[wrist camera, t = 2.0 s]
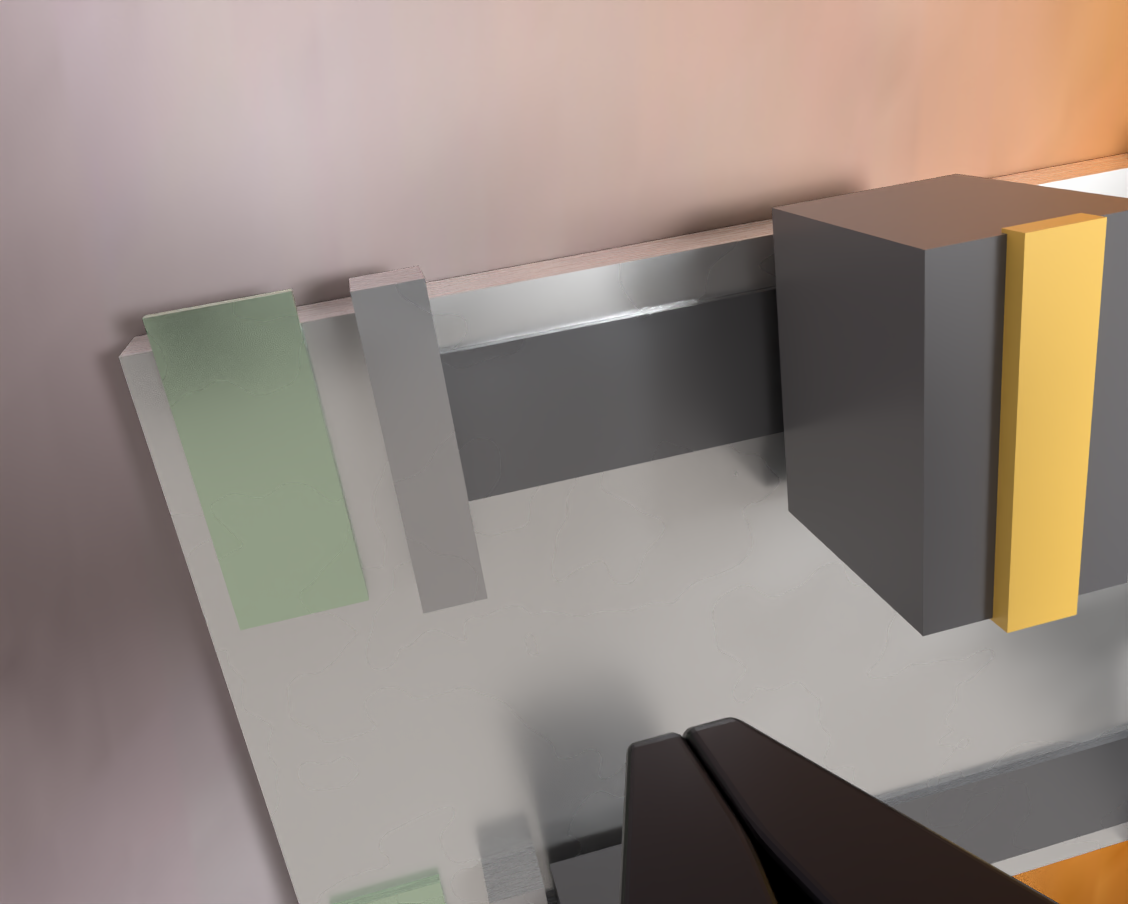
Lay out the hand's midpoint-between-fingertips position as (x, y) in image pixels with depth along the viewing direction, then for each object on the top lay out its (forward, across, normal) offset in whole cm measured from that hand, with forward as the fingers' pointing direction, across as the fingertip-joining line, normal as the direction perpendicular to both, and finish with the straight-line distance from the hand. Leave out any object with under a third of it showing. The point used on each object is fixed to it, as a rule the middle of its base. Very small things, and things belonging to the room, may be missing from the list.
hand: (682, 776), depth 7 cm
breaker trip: (+8, -6, 0) cm, 10 cm away
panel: (+10, -6, +5) cm, 12 cm away
